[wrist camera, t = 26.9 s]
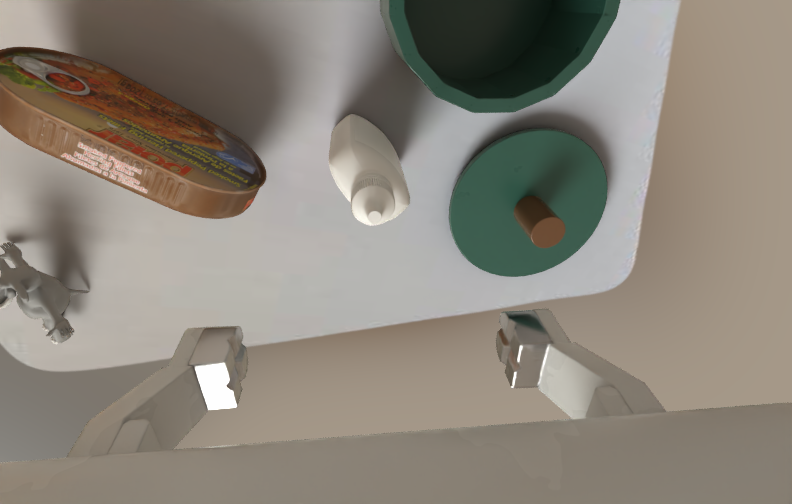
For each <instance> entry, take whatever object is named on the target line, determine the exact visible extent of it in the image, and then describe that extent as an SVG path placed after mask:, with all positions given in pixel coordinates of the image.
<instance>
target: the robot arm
mask: <svg viewBox="0 0 792 504" xmlns="http://www.w3.org/2000/svg"><path fill="white" fill-rule="evenodd" d="M499 322H500V325H501V327H502V328H501V329H500V330H499V331H498V332H497V338H496V347H497V353H498V356H499V359H500V361H501V362H502V363H504V364H505V365H506V369H505V374H506V376H507V378H508V381H509V383H510V386H511V388H532V387H538V389H539V390H540V391H541V392H543V393H544V394H545V395H546V396H547V397H548V398H549V399H551V400H552V401H553V402H554V403H555V404H556V405H558V406H559V407H560V408H561V409H562V410H563V411H564V412H565V413H567V414H568V415H569V416H570V417H571V418H572V419H567V420H566V419H565V420H553V421H541V422H528V423H515V424H502V425H491V426H490V425H489V426H477V427H462V428H449V429H435V430H422V431H408V432H396V433H383V434H370V435H358V436H345V437H331V438H318V439H305V440H292V441H279V442H267V443H253V444H240V445H227V446H214V447H201V448H189V449H175V450H173V449H174V448H175V447H176V446H177V444H178V443H179V442H180V441H181V440H182V439H183V438H184V437H185V435H187V434H188V433H189V431H190V430H191V429H192V428H193V427H194V426H195V425H196V424H197V423H198V422H199V421H200V419H201V418H202V417H203V416H204V415H205V414H206V413H207V410H215V409H226V408H236V407H237V406H238V403H239V399H240V395H241V392H242V387H241V383H240V382H241V381H242V380H243V379H244V378H245V377H246V372H247V365H248V357H247V350H246V347H245V346H244V345H243V344H242V343H241V342H242V339H243V333H242V329H241V327H239V326H223V327H206V328H205V327H200V328H188V329H187V330H186V331H185V332H184V334H183V336H182V338H181V341H180V343H179V345H178V347H177V349H176V351H175V353H174V355H173V357H172V359H171V361H170V363H169V365H168V367H164V368H161V369H160V370H159V371H157V372H156V373H154V374H153V375H152V376H150V377H149V378H147V379H146V380H145V381H143V382H142V383H141V384H139V385H138V386H136V387H135V388H134V389H132V390H131V391H130V392H128V393H127V394H126V395H124V396H123V397H121V398H120V399H119V400H117V401H116V402H114V403H113V404H112V405H110V406H109V407H108V408H106V409H105V410H103V411H102V412H100V413H99V414H98V415H97V416H95V417H94V418H92V419H91V420H90V421H88V422H87V424H86V426H85V427H84V429H83V431H82V432H81V434H80V436H79V437H78V439H77V441H76V442H75V444H74V446H73V447H72V449H71V451H70V452H69V454H68V455H67V457H66V458H57V459H43V460H30V461H18V462H5V463H0V504H792V403H773V404H762V405H748V406H735V407H723V408H709V409H696V410H683V411H670V412H666V411H665V409H664V408H663V406H662V405H661V404H660V403H659V401H658V400H657V398H656V397H655V396H654V395H653V393H652V392H651V390H650V389H649V388H648V386H647V385H646V384H645V383H644V382H642V381H641V380H639V379H637V378H635V377H634V376H632V375H630V374H628V373H627V372H625V371H623V370H622V369H620V368H618V367H617V366H615V365H613V364H612V363H610V362H608V361H606V360H604V359H603V358H601V357H599V356H598V355H596V354H595V353H593V352H591V351H589V350H588V349H586V348H584V347H582V346H581V345H579V344H577V343H576V342H573V343H571V342H570V340H569V338H568V337H567V335H566V334H565V332H564V331H563V329H562V328H561V326H560V325H559V323H558V321H557V320H556V318H555V317H554V315H553V314H552V312H551V311H550V310H549V309H536V310H526V311H509V312H502V313H501V315H500V320H499Z"/></svg>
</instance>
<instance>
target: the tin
mask: <svg viewBox="0 0 792 504" xmlns="http://www.w3.org/2000/svg"><path fill="white" fill-rule="evenodd" d="M0 125H1V126H2V127H3V128H4V129H6V130H7V131H8V132H9V133H11V134H12V135H13V136H15V137H16V138H18V139H20V140H21V141H23V142H24V143H26V144H28V145H30V146H32V147H34V148H36V149H38V150H40V151H42V152H45V153H47V154H49V155H51V156H54V157H56V158H58V159H60V160H63V161H65V162H67V163H69V164H71V165H74V166H76V167H78V168H80V169H82V170H85V171H87V172H89V173H91V174H94V175H96V176H98V177H100V178H103V179H105V180H107V181H109V182H112V183H114V184H116V185H118V186H121V187H123V188H125V189H127V190H130V191H132V192H134V193H137V194H139V195H141V196H143V197H145V198H148V199H150V200H153V201H155V202H157V203H159V204H161V205H164V206H166V207H168V208H171V209H173V210H176V211H179V212H182V213H185V214H188V215H192V216H196V217H202V218H212V219H222V218H230V217H234V216H237V215H239V214H241V213H242V212H244V211H245V210H246V209H247V208H248V207H249V206H250V205H251V203H252V202H253V200H254V198H255V196H256V194H257V192H258V190H259V188H260V187H261V186H262V185H263V184H264V182H265V180H266V170H265V167H264V165H263V163H262V161H261V160H260V158H259V157H258V156H257V154H256V153H255V152H254V151H253V150H252V149H251V148H250V147H249V146H248V145H247V144H245V143H244V142H243V141H242V140H240V139H239V138H237V137H236V136H235V135H233V134H231V133H230V132H228V131H226V130H224V129H223V128H221V127H219V126H217V125H215V124H213V123H212V122H210V121H208V120H206V119H204V118H202V117H200V116H198V115H196V114H194V113H193V112H191V111H189V110H187V109H185V108H183V107H181V106H180V105H178V104H176V103H174V102H172V101H170V100H168V99H166V98H164V97H163V96H161V95H159V94H157V93H155V92H153V91H152V90H150V89H148V88H146V87H144V86H142V85H140V84H138V83H136V82H135V81H133V80H131V79H129V78H127V77H125V76H123V75H121V74H120V73H118V72H116V71H114V70H112V69H110V68H107V67H105V66H103V65H100V64H98V63H95V62H92V61H90V60H87V59H84V58H81V57H78V56H75V55H71V54H68V53H64V52H59V51H55V50H49V49H43V48H34V47H12V48H6V49H2V50H0Z"/></svg>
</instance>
